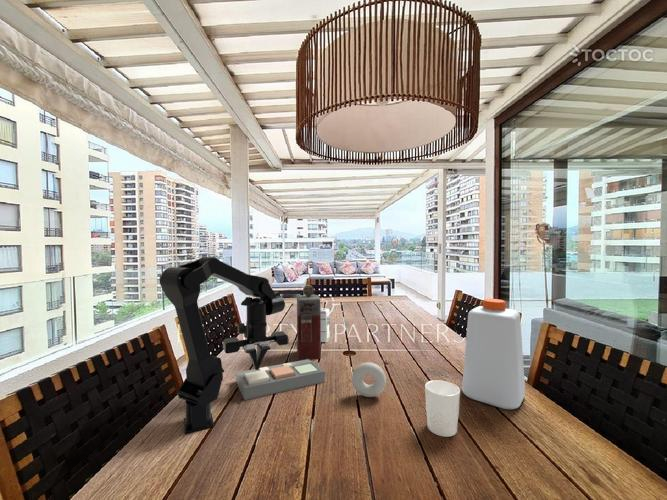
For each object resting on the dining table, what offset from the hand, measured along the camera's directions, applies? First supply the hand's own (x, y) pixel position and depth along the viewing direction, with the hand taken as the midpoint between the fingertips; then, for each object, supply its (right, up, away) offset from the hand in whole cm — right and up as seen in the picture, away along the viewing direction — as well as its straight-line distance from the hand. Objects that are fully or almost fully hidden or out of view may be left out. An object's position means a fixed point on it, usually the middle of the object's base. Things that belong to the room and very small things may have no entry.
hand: (256, 369), depth 93 cm
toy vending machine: (+14, -6, +29) cm, 32 cm away
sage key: (+14, -5, +8) cm, 17 cm away
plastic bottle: (+70, -7, -3) cm, 71 cm away
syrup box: (+18, -6, +48) cm, 52 cm away
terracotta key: (+7, -4, +4) cm, 9 cm away
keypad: (+6, -6, +6) cm, 10 cm away
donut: (+34, -7, -4) cm, 34 cm away
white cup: (+50, -7, -19) cm, 54 cm away
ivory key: (0, -4, 0) cm, 4 cm away
